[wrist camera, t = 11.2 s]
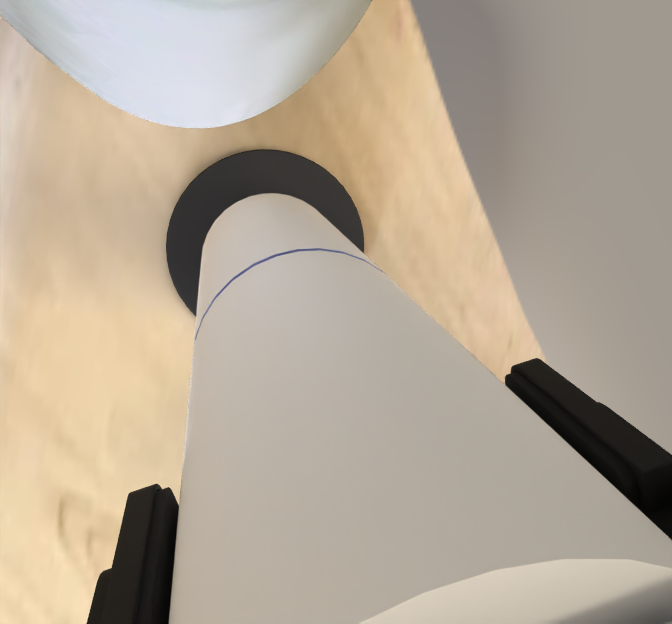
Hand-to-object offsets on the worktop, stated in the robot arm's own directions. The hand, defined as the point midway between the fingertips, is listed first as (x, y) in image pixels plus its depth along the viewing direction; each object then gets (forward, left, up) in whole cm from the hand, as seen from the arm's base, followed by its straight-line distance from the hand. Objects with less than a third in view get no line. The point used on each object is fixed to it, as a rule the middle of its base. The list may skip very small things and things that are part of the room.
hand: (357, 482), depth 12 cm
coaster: (0, 0, -22) cm, 22 cm away
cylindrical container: (0, 0, -19) cm, 19 cm away
